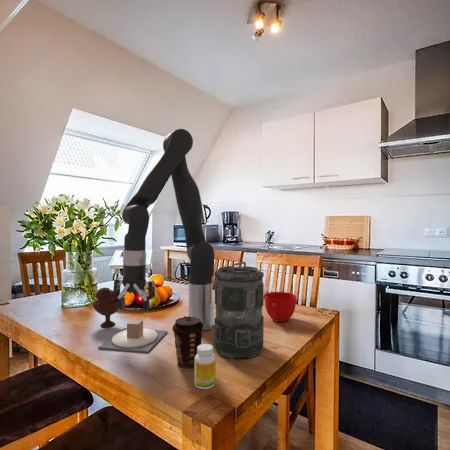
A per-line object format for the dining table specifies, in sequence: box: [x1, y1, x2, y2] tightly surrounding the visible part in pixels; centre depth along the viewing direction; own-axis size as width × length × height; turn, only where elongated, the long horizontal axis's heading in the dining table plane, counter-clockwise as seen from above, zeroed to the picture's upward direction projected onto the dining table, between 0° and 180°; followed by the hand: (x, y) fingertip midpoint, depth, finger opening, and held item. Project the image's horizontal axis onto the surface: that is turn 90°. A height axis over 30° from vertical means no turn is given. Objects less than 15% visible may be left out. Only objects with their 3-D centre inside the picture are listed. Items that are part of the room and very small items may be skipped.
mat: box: [97, 327, 168, 354], centre depth 104 cm, size 17×17×1 cm
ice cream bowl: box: [91, 287, 120, 329], centre depth 118 cm, size 11×11×15 cm
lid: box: [111, 319, 157, 348], centre depth 104 cm, size 15×15×6 cm
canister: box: [213, 261, 265, 359], centre depth 97 cm, size 16×16×28 cm
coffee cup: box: [172, 315, 203, 371], centre depth 87 cm, size 9×8×13 cm
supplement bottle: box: [193, 343, 216, 390], centre depth 77 cm, size 5×5×10 cm
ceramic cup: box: [264, 291, 297, 322], centre depth 124 cm, size 13×17×10 cm
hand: (133, 310), depth 104 cm, fingers open, 8 cm apart
